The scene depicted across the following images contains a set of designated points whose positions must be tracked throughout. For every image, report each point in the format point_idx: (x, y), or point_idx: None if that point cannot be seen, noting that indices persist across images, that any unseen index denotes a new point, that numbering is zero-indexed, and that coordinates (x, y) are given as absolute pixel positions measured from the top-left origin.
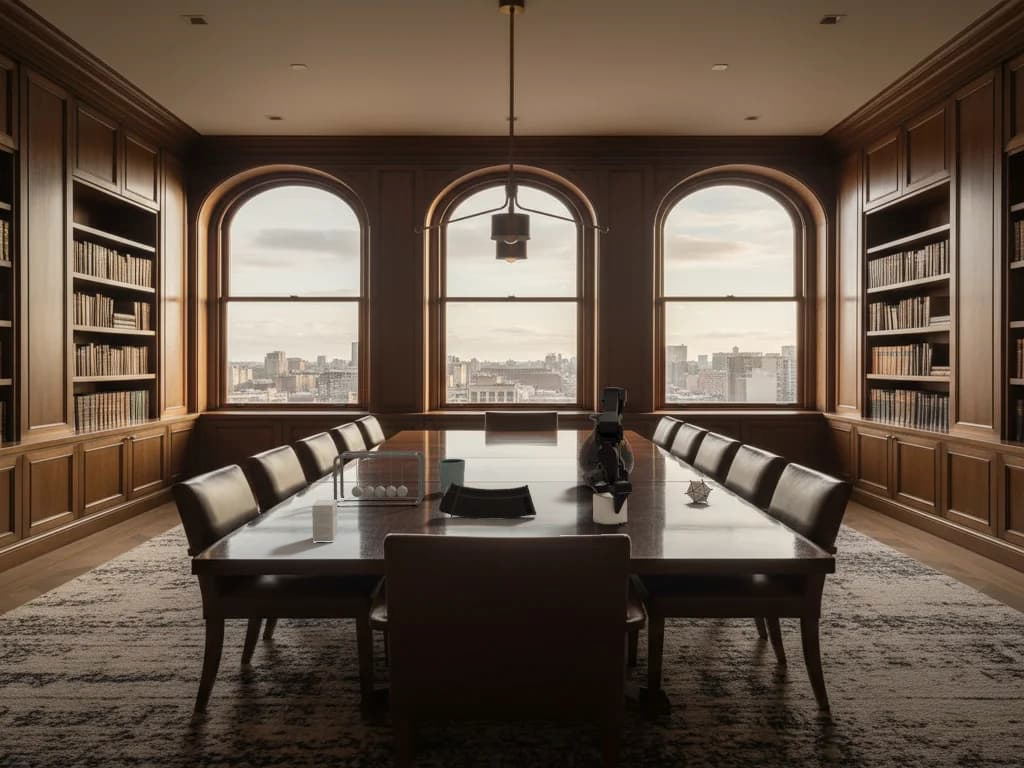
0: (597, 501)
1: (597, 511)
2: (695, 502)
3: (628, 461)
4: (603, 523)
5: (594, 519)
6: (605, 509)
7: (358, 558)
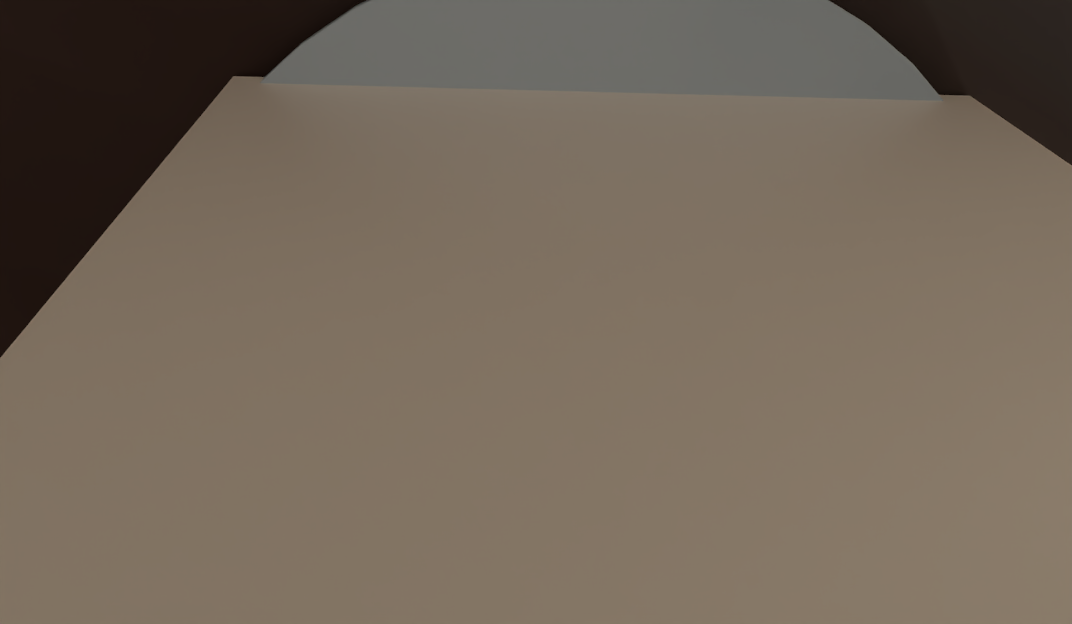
0: (964, 488)
1: (786, 207)
2: None
3: None
4: (289, 60)
5: (830, 55)
6: (48, 329)
7: None
